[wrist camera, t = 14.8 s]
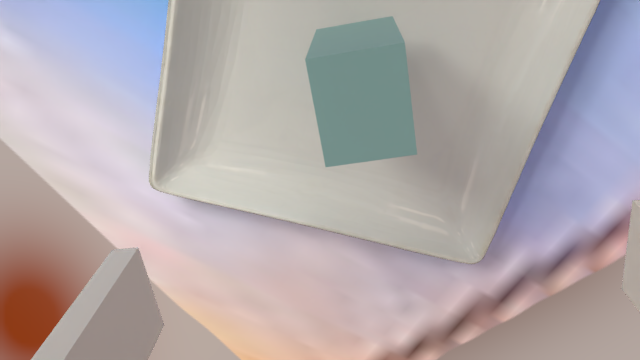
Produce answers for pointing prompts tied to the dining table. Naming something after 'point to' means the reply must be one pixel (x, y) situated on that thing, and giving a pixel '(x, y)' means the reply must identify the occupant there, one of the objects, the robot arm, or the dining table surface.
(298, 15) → the square plate
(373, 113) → the teal block
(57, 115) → the dining table surface
